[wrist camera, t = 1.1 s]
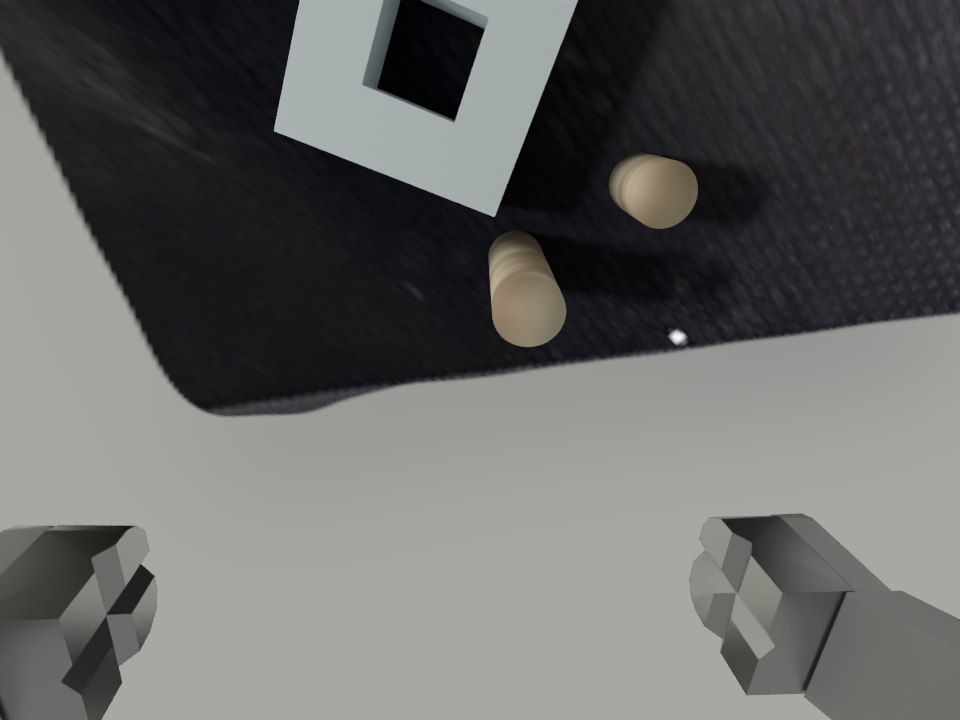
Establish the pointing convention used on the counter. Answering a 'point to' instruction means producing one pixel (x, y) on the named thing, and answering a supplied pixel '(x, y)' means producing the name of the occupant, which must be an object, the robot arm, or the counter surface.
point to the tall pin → (524, 291)
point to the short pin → (653, 189)
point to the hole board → (407, 126)
